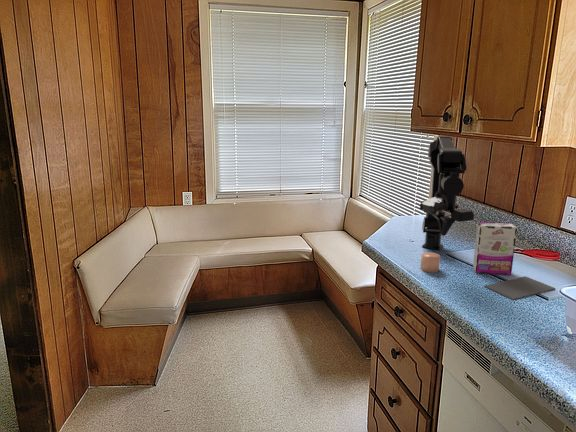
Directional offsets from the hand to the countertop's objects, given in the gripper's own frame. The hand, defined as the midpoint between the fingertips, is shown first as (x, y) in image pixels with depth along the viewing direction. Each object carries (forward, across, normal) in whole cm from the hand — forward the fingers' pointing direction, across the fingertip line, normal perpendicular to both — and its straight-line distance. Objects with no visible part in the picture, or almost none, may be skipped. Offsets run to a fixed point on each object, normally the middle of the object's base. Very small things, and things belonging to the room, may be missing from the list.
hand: (443, 235), depth 139 cm
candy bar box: (+12, +9, +14) cm, 20 cm away
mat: (+12, +22, +11) cm, 27 cm away
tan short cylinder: (+12, -2, -3) cm, 13 cm away
